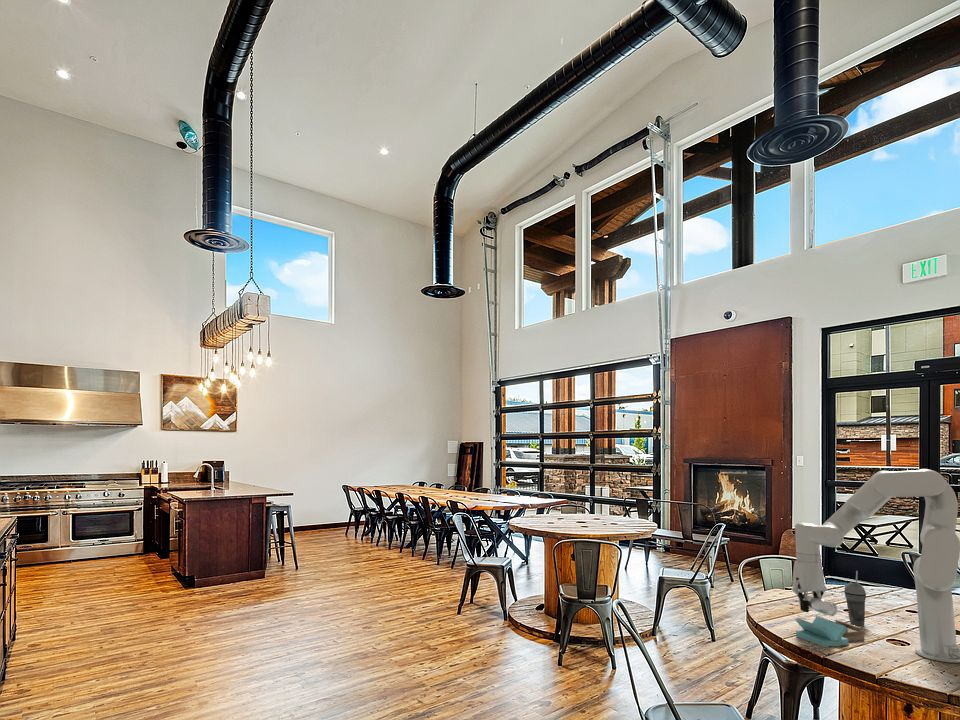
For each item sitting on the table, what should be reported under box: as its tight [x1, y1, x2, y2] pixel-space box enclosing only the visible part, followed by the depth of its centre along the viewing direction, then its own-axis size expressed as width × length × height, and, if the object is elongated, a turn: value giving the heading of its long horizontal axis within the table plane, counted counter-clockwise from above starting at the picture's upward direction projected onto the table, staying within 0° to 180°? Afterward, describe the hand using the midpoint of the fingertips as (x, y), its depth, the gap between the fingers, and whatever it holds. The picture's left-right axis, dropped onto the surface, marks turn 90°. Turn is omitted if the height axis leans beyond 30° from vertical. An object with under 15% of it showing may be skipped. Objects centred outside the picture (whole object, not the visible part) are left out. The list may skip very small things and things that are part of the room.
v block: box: [795, 616, 850, 648], centre depth 208 cm, size 12×10×6 cm
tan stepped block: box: [834, 619, 865, 643], centre depth 213 cm, size 10×9×4 cm
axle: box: [798, 595, 838, 617], centre depth 210 cm, size 12×4×4 cm, turn 18°
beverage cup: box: [843, 570, 867, 627], centre depth 228 cm, size 7×7×20 cm
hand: (810, 610), depth 213 cm, fingers closed on axle, 4 cm apart
